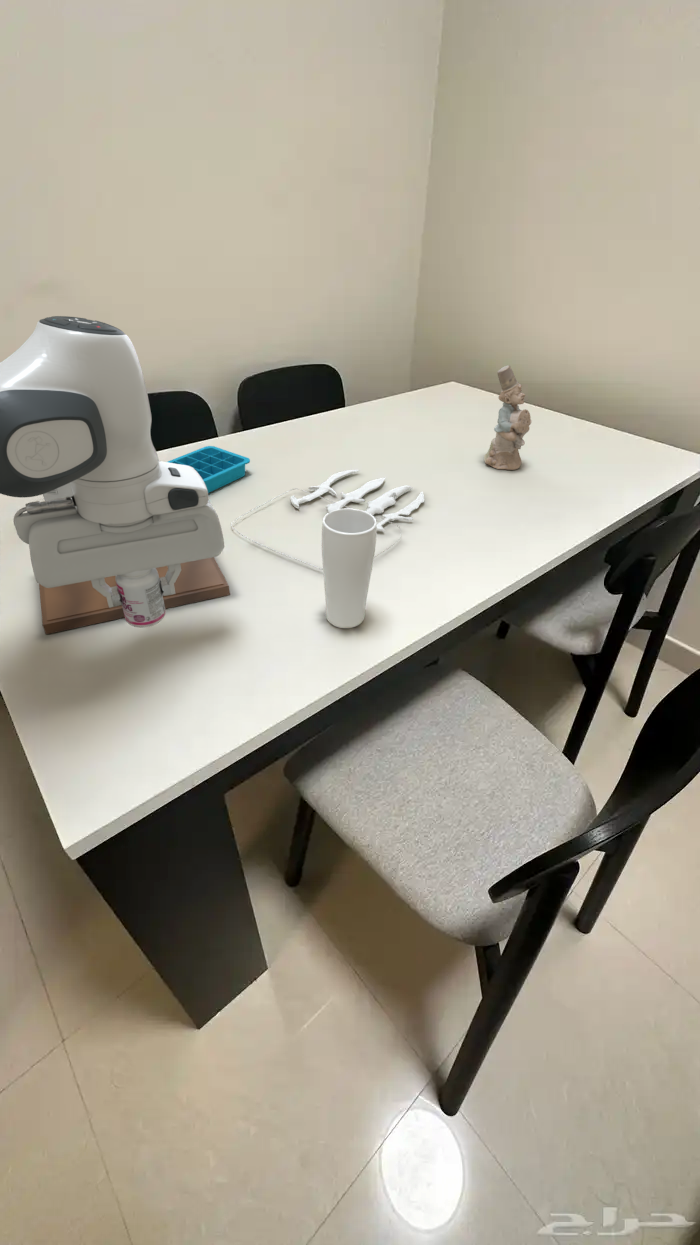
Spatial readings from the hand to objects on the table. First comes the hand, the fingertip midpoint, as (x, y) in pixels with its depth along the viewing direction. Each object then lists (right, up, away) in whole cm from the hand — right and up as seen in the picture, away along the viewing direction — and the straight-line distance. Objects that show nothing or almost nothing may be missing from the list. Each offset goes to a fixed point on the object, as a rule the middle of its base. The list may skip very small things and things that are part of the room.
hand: (142, 598), depth 69 cm
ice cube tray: (-5, +24, +42) cm, 48 cm away
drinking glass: (+24, -2, +11) cm, 26 cm away
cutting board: (-6, +2, +14) cm, 16 cm away
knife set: (+23, +16, +34) cm, 44 cm away
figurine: (+57, +31, +56) cm, 86 cm away
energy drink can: (-25, +17, +32) cm, 44 cm away
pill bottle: (0, -2, +2) cm, 3 cm away
